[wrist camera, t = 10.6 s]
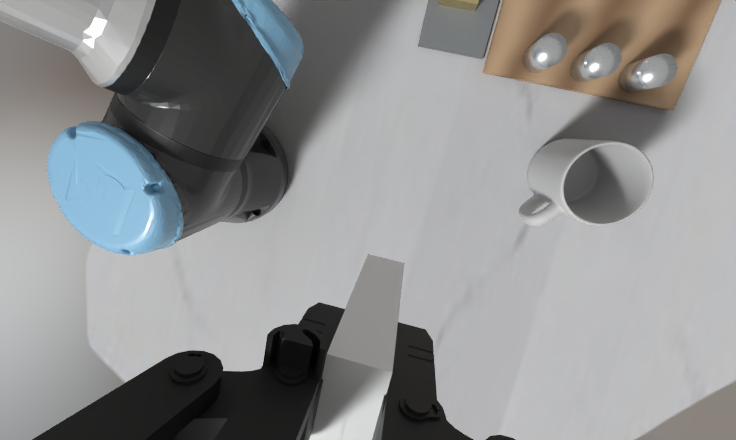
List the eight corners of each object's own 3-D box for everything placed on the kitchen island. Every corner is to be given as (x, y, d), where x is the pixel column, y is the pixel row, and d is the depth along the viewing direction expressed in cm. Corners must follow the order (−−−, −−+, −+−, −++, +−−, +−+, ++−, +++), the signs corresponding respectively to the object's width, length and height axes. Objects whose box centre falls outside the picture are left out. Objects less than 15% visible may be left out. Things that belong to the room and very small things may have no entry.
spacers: (498, 65, 41) (507, 57, 37) (538, -73, 38) (553, -100, 33) (655, 97, 40) (684, 93, 36) (714, -44, 36) (754, -68, 32)
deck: (482, 72, 43) (484, 71, 42) (525, -80, 38) (528, -85, 37) (667, 110, 41) (673, 109, 40) (734, -45, 37) (742, -50, 36)
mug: (572, 123, 43) (622, 120, 32) (612, 176, 43) (674, 190, 33) (490, 185, 46) (512, 201, 35) (529, 233, 47) (561, 263, 36)
